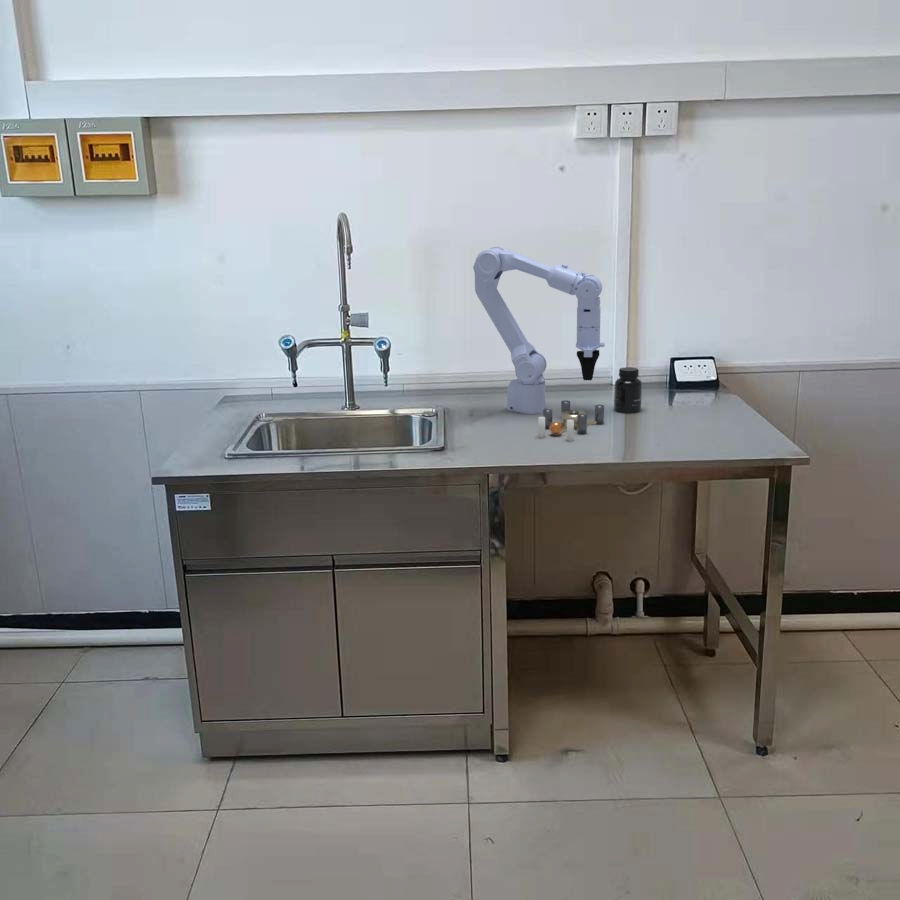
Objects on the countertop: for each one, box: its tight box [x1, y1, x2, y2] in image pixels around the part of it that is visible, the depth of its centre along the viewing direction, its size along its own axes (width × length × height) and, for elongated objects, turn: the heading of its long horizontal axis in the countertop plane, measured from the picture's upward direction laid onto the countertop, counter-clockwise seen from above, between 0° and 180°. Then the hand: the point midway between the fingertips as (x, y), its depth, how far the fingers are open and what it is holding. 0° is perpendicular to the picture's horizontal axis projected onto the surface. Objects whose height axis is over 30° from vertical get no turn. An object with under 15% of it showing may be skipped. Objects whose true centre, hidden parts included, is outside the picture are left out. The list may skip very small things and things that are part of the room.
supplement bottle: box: [613, 367, 643, 415], centre depth 225 cm, size 7×7×12 cm
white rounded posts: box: [537, 416, 575, 442], centre depth 206 cm, size 9×6×5 cm
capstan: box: [542, 399, 605, 436], centre depth 214 cm, size 16×16×4 cm
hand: (587, 379), depth 222 cm, fingers closed
